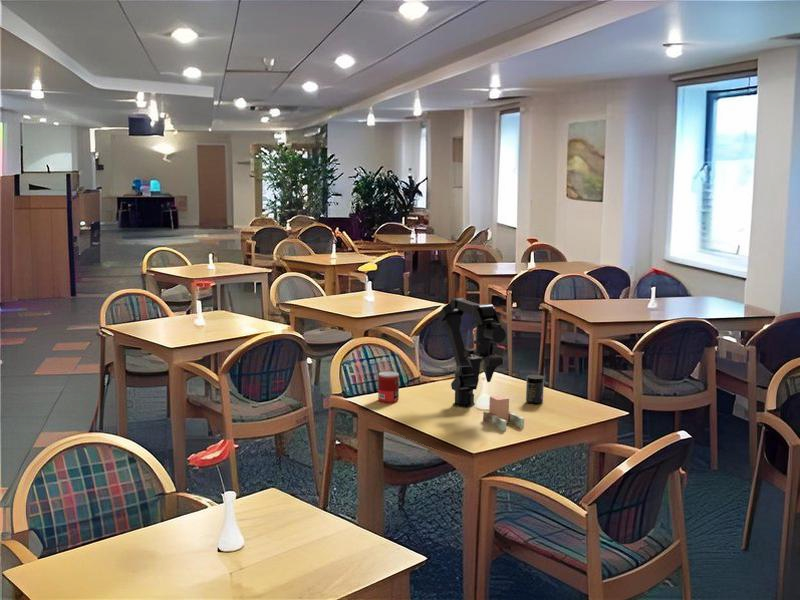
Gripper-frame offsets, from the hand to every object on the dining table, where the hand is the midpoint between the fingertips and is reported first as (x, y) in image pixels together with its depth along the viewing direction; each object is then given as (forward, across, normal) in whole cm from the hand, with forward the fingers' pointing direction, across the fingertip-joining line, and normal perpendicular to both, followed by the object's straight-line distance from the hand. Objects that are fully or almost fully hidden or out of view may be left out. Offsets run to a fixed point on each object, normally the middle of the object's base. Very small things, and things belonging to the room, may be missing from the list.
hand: (482, 379), depth 312 cm
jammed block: (+13, -11, 0) cm, 17 cm away
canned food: (+13, +31, +24) cm, 41 cm away
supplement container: (+13, +4, -27) cm, 30 cm away
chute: (+13, -14, 0) cm, 19 cm away
